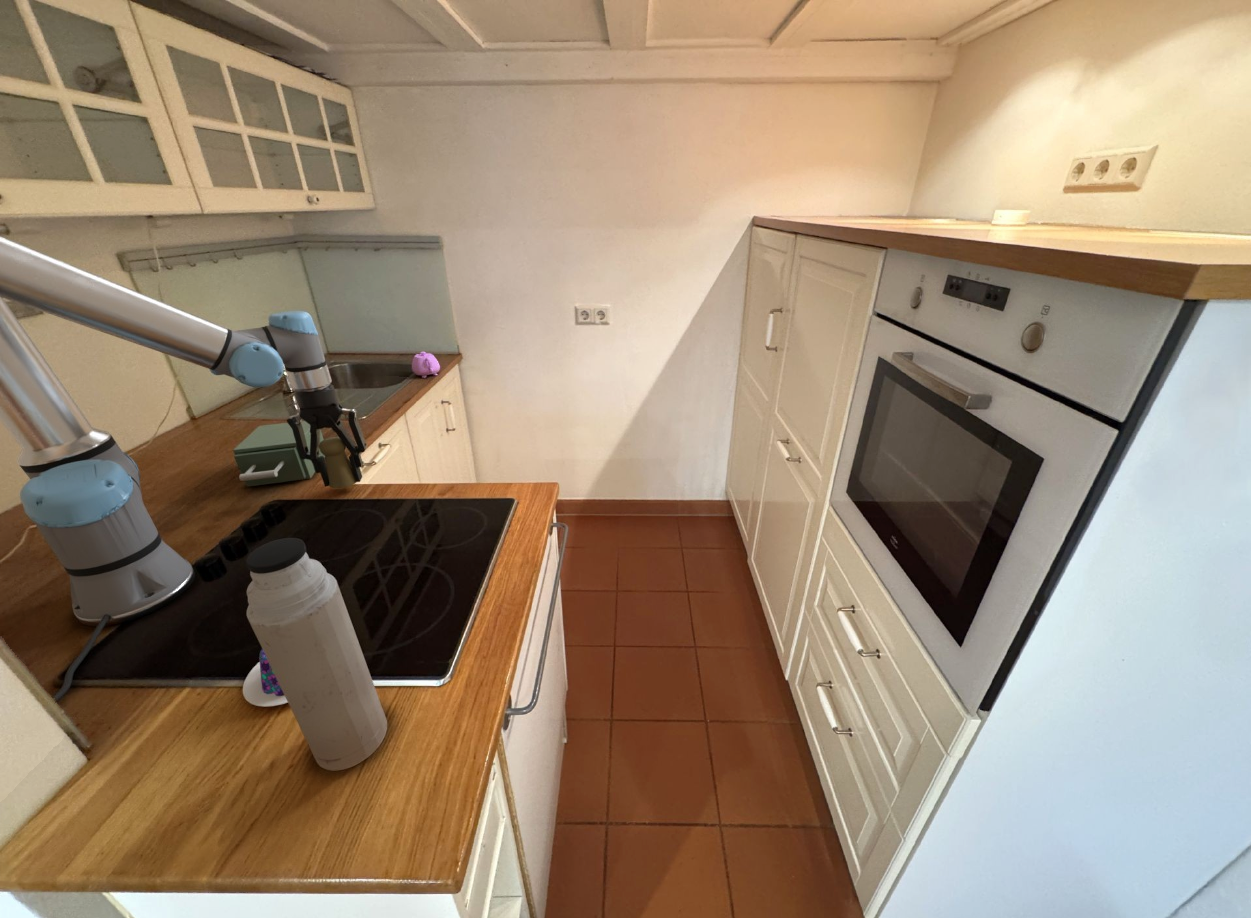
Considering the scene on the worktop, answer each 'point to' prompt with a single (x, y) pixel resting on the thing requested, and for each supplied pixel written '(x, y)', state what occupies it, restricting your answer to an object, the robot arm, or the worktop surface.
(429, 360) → the pink rounded figure
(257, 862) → the worktop surface
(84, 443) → the robot arm
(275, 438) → the cabinet
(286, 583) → the thermos bottle
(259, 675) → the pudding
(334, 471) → the olive tapered upright piece
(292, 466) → the drawer
